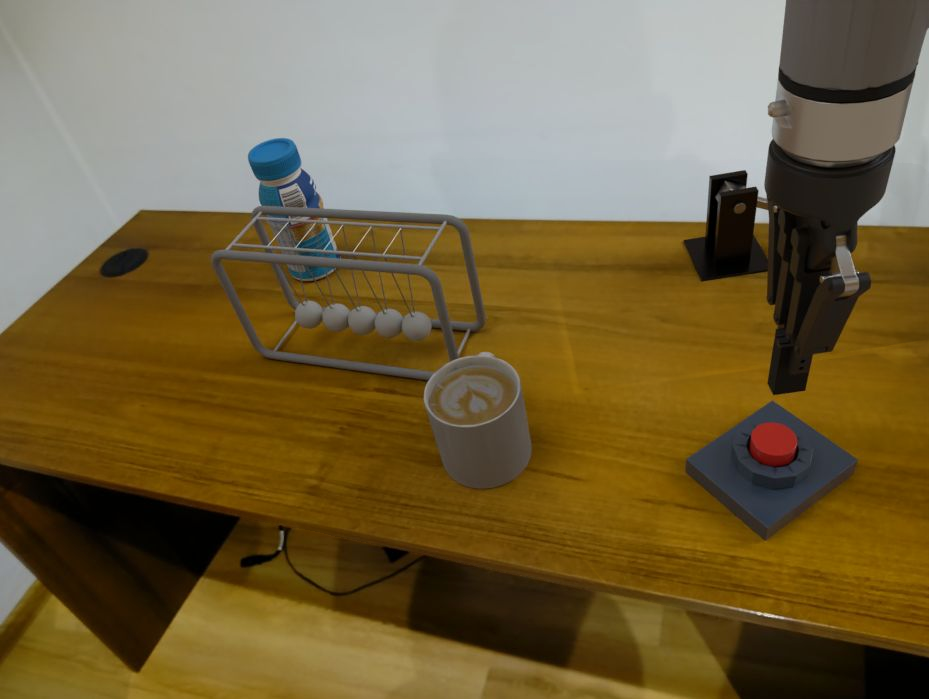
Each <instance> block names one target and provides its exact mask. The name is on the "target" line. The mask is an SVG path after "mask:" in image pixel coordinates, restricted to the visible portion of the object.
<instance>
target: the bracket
mask: <svg viewBox="0 0 929 699" xmlns="http://www.w3.org/2000/svg"><path fill="white" fill-rule="evenodd" d="M748 174H749V173H748V172H747V170H746V169H743V170H742V169H741V170H737V171H731V172H725V173H719V174H712V175H709V177H708V178H709V179H708V190H707V193H708V194H707V204H706V205H707V208H706V221H705V222H706V223H705V235H704V236H700V237H699V236H698V237H694V238H688V239H683V244H684V246H685V248H686V251H687V253H688V255H689V258H690V260H691V262H692V264H693V266H694V268H695V271H696V273H697V275H698V278H699V280H700V282H708V281H713V280H721V279H727V278H735V277H740V276H746V275H754V274H759V273H766V272H767V273H768V256H767V254H766V253H765V252H764V250H763V249H762V246H761V245H760V243H759V241H758V239H757V238H756V236H755V235H754V232H755V224H756V217H757V216H756V215H757V200H758V197H759V192H760V191H759V189H758V187H757V186H751V187H750V186H749V187H747V183H748ZM724 181H728V182H732V183H736V184H740V185H744V186H745V187H746V188H744V189H738V190H731V191H725V192H719V198H718V201H717V199H716V197H715V196H716V195H717V193H718V191H719V189H720V188H721V186H722V184H723V182H724Z"/></svg>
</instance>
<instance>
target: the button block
mask: <svg viewBox="0 0 929 699" xmlns="http://www.w3.org/2000/svg"><path fill="white" fill-rule="evenodd" d="M763 423H779V424H782V425H784V426H786V427H788V428H789V429H791V430H792V431H793V432H794V434H795V435H796V437H797V447H796V452H795V456H794V458H793V460H792V461H791V462H790V463H788V464H787V465H784V466H780V467H771V466H767V465H764V464H762V463H760V462H758V461H757V460H756V459H755V458H754V457H753V456H752V454H751V452H750V440H751V434H752V432H753V430H754V429H755V428H756V427H757V426H759V425H761V424H763ZM858 462H859V459H858V458H857V457H855V456H853V455H852V454H851V453H850V452H848V451H847V450H845V449H844V448H842V447H840V446H839V445H838V444H836V443H835V442H833V441H832V440H830V439H829V438H828V437H827V436H825V435H824V434H822V433H820V432H819V431H818V430H816V429H814V428H813V427H812V426H810V425H808V423H806V422H805V421H803V420H801V419H800V418H799V417H798V416H796V415H794V414H793V413H791V412H790V411H788V410H787V409H785V408H784V407H783V406H781V405H780V404H779V403H777V402H775V401H774V400H771V401H769V402H767V403H766V404H765V405H763V406H761V408H759V409H757V410H756V411H754V412H753V413H751V414H749V416H747V417H746V418H744V419H743V420H741V421H740V422H738V423H737V424H735V425H734V426H733V427H731V428H729V429H727V431H725V432H724V433H722V434H721V435H719V436H717V438H715V439H713V440H712V441H710V442H709V443H707V444H706V445H704V446H703V447H702V448H700V449H699V450H698V451H696V452H694V453H693V454H692V455H690V456H688V457H687V458H686V459H685V469H684V470H685V474H686V475H688V476H689V477H690V478H691V479H693V481H695V482H696V483H697V484H698V485H699V486H700V487H702V488H703V490H705V491H706V492H707V493H709V494H710V495H711V496H712V497H713V498H715V500H717V501H718V502H719V503H720V504H721V505H722V506H723V507H725V509H727V510H728V511H729V512H731V513H732V514H733V515H734V516H735V517H736V518H738V519H739V520H740V521H741V522H742V523H743V524H744V525H746V527H748V528H749V529H750V530H751V531H753V533H755V534H756V536H758V537H760V538H761V540H763V541H764V542H766V541H767V540H769V539H770V538H771V537H773V536H774V535H775V534H777V533H778V532H779V531H780V530H782V529H783V528H785V527H786V526H787V525H788V524H790V523H791V522H792V521H793V520H795V519H796V518H798V517H799V516H800V515H802V514H803V513H804V512H806V511H807V510H808V509H810V507H812V506H814V505H815V504H816V503H817V502H818V501H820V500H821V499H823V498H824V497H825V496H827V495H828V494H829V493H830V492H832V491H833V490H835V489H836V488H838V486H840V485H841V484H843V482H845V481H846V480H848V479H849V478H850V477H852V476H853V475H854V474H855V472H856V468H857V465H858Z"/></svg>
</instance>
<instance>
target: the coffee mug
mask: <svg viewBox="0 0 929 699" xmlns="http://www.w3.org/2000/svg"><path fill="white" fill-rule="evenodd" d="M434 372H435V373H434V374H433V375H432V376H431V378H430V379H429V381H428V380H427V381H426V382H427V383H426V384H425V387H424V391H423V404H424V407H425V408H424V409H425V411H426V414H427V417H428V421H429V424H430V427H431V430H432V434H433V437H434V441H435V443H436V447H437V450H438V453H439V457H440V459H441V463H442V466H443V469H444V471H445V473H446V474H447V475H448V476H449V477H450V478H451V479H452V481H454V482H455V483H457V484H459V485H461V486H464V487H467V488H471V489H477V490H487V489H494V488H497V487H500V486H503V485H506V484H508V483H510V482H511V481H513V480H514V479H516V478H517V477H519V476H520V474H522V473H523V471H524V470H525V469H526V468H527V466H528V464H529V462H530V459H531V457H532V450H533V448H532V440H531V434H530V428H529V422H528V417H527V410H526V405H525V404H526V403H525V399H524V393H523V387H522V382H521V378H520V375H519V373H518V372H517V370H516V369H515V368H514V367H513V366H512V365H511V364H510V363H509V362H507V361H506V360H503V358H502V359H501V358H499V357H496V356H495V355H494V354H493V353H492V352H489V351H481V352H479V353H478V354H475V355H466V356H463V357H459V359H456V360H453V361H451V362H450V361H449V362H447V363H445V364H444V365H442V366H441V367H440V368H438V369H437V370H436V371H434Z"/></svg>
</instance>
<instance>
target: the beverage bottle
mask: <svg viewBox="0 0 929 699" xmlns="http://www.w3.org/2000/svg"><path fill="white" fill-rule="evenodd" d="M247 160H248V164H249V167H250V168H251V171H252V173H253V176H254V177H255V178H256V180H258V181H259V186H258V201H259V204H260V206H280V207H300V208H321V209H325V208H324V201H323V199H322V197H321V195H320V194H319V193H318V192H317V185H316V182H315V180H314V179H313V178H312V177H311V175H310V174H309V173H308V172H306V170H304V169H303V168H302V159H301V155H300V153H299V150H298V147H297V145H296V143H295V142H294V140H292V139H290V138H287V137H278V138H272V139H268V140H265V141H262V142H260V143H258V144H257V145H255V146H254V147H253V148H251V149H250V150H249V152H248V154H247ZM264 217H267V218H285V219H303V220H322V221H329V220H328V218H315V217H297V216H278V215H264ZM266 222H267V224H268V225H269V226H270V229H271V231H272V234H273V236H274V238H275V237H276V235H277V234H278V233H279V232H280V231H281V229H282V228H283V227H284V226H285V225H286V224H287V222H281V221H266ZM314 224H315V223H299V222H289V226H290V230H291V235H292V239H293V243H294V248H295V247H296V246H297V245H298V244H299V242H300V241H301V240H302V239H303V237H304V236H305V235H306V234H307V232H308V231H309V230H310V229H311V227H312V226H313V225H314ZM316 228H317V232H318V237H319V241H320V245H321V249H322V250H324V248H325V247H326V246H327V245H328V243H329V242H330V241H331V239H332V238H333V237H334V235H333V232H332V229H331V226H330V224H316ZM275 241H276V243H277V246H278V247H290V248H293V245H292V240H291V236H290V232H289V227H288V224H287V225H286V226H285V227H284V228H283V230H282V231H281V232H280V233H279V234H278V235H277V237H276V238H275ZM296 248H304V249H318V250H320V247H319V242H318V238H317V234H316V230H315V225H314V226H313V228H312V229H311V230H310V231H309V232H308V234H307V235H306V236H305V237H304V239H303V240H302V241H301V242H300V244H299V245H298V246H297V247H296ZM325 250H332V251H340V250H339V248H338V245H337V243H336V240H335V237H334V238H333V239H332V241H331V242H330V243H329V245H328V246H327V247H326V249H325ZM280 252H281V254H287V255H295V253H294V251H285V250H280ZM295 252H296V255H298V253H297V251H295ZM299 254H300V255H301V256H313V257H322V255H321V253H312V252H299ZM322 254H323V257H326V258H327V256H328V257H329V258H340V259H342V255H339V254H327V256H326V255H325V253H322ZM286 266H287V269H288V273H289V274H290V276H291V277H292V278H294V279H295V280H297V281H300V282H301V280H300V275H299V271H298V266H297V265H289V264H286ZM307 267H308V269H309V270H310V272H311V274H312V276H313V277H314V279H315V281H318V280H322V279H324V278H327V276H326V272H325V268H324V267H313V266H307ZM299 270H300V274H301V278H302V282H313V281H314V280H313V278H312V276H311V275H310V273H309V271H308V270H307V268H306V266H301V265H299ZM335 270H336V271H337V268H335ZM326 271H327V275H328V276H330V275H331V274H333V273H335V271H334V269H333V268H326ZM315 281H314V282H315Z"/></svg>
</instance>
